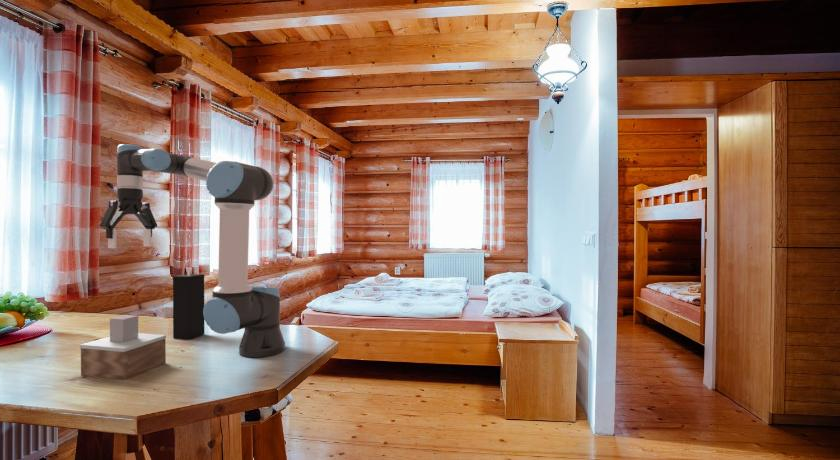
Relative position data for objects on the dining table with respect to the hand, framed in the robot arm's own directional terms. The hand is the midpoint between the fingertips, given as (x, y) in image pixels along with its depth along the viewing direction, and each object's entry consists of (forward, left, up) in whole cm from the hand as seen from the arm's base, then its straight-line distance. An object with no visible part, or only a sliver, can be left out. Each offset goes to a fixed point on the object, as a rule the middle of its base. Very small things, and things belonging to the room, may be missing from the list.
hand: (130, 247), depth 143 cm
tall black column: (-8, -18, -37) cm, 42 cm away
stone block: (-17, +17, -28) cm, 37 cm away
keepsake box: (-17, +17, -37) cm, 44 cm away
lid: (-17, +17, -29) cm, 37 cm away
